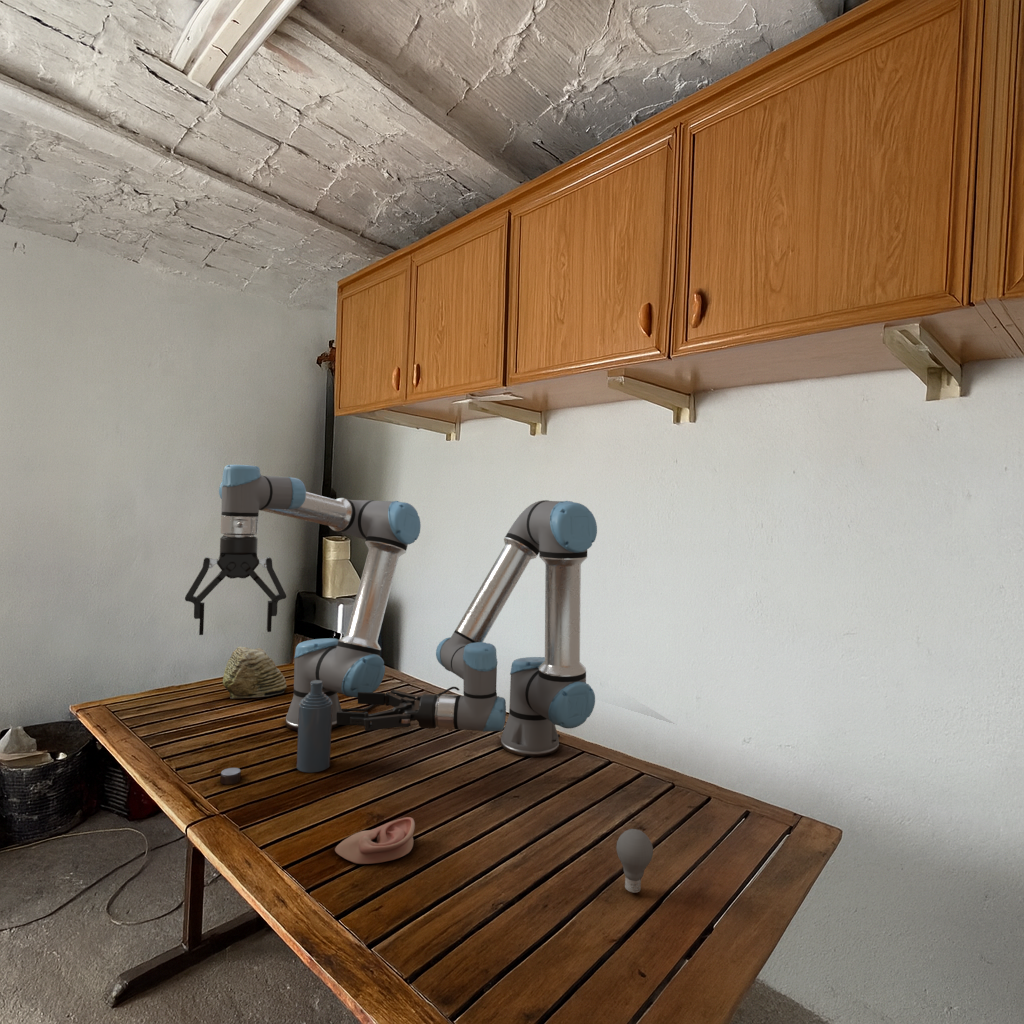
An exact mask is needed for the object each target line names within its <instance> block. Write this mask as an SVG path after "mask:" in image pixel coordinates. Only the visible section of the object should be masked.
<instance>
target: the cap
mask: <svg viewBox="0 0 1024 1024" xmlns="http://www.w3.org/2000/svg"><path fill="white" fill-rule="evenodd" d="M241 773H242V771H241V769H240V768H238V767H228V768H224V769H223V770H221V772H220V780H219V781H220V783H221V784H222V785H226V786H227V785H228V786H229V785H234V784H237V783H239V782H240V781H241Z"/></svg>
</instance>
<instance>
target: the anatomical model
mask: <svg viewBox="0 0 1024 1024" xmlns="http://www.w3.org/2000/svg"><path fill="white" fill-rule="evenodd" d="M415 828H416V823H415V820H414V818H413V817H410V816H409V817H402V818H398V819H395V820H392V821H389V822H386V823H384V824H382V825H380V826H377V827H375V828H372V829H368V830H361V831H358V832H356V833H353V834H352V835H350V836H348V837H346V838H345V839H343V840H342V841H340V843H338V844H337V845H336V846H335V848H334V852H335V853H336V854H337V855H338V856H340V857H341V858H343V859H344V860H347V861H348V862H351V863H353V864H357V865H369V864H370V865H371V864H380V863H385V862H390V861H394V860H398V859H400V858H402V857H404V856H407V855H408V854H409V853H410V852H411V851H412V849H413V847H414V837H413V835H414V833H415Z"/></svg>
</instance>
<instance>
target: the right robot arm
mask: <svg viewBox="0 0 1024 1024" xmlns="http://www.w3.org/2000/svg"><path fill="white" fill-rule="evenodd" d="M597 535H598V524H597V520H596V518H595V516H594V514H593V512H592V511H591V510H590V509H589V508H588V507H587V506H586V505H584V504H582V503H580V502H575V501H570V500H547V499H545V500H543V499H542V500H538V501H535V502H533V503H531V504H530V505H528V506H526V508H524V510H523V511H522V512H521V513H520V514H519V515H518V517H517V518H516V519H515V520H514V521H513V523H512V525H511V527H510V528H509V529H508V531H507V533H506V534H505V536H504V538H503V543H504V546H503V548H502V549H501V550H500V553H499V554H498V556H497V558H496V559H495V562H493V565H492V567H491V568H490V570H489V572H488V574H487V575H486V577H484V580H483V582H482V583H481V585H480V587H479V589H478V590H477V592H476V593H475V595H474V597H473V599H472V601H471V602H470V604H469V606H468V607H467V609H466V611H465V612H464V614H463V616H462V618H461V619H460V621H459V622H458V624H457V626H456V628H455V629H454V631H453V633H452V635H451V636H450V637H446V638H444V639H442V640H441V641H440V642H439V643H438V645H437V647H436V650H435V657H436V660H437V662H438V663H439V664H440V665H441V667H443V668H444V670H446V671H448V672H451V673H453V674H454V675H456V676H457V677H458V678H460V679H461V680H463V695H461V694H460V695H459V694H446V693H444V694H442V695H440V696H438V695H437V694H438V693H437V694H436V693H434V694H433V693H423V694H422V695H420V694H413V693H409V692H405V691H401V690H397V689H391V690H390V691H387V692H375V691H374V692H358V698H357V704H358V705H375V706H386V707H389V706H391V707H393V708H392V709H387V710H384V711H378V712H374V713H373V712H372V713H369V712H368V711H364V712H363V711H342V712H340V711H338V712H337V725H339V726H357V727H364V731H365V732H368V731H378V730H386V729H392V728H410V727H411V722H413V721H417V723H418V726H419V728H421V729H429V730H430V729H433V730H434V729H439V730H448V731H449V732H452V731H453V730H456V731H457V730H458V731H460V730H461V731H473V732H483V733H485V732H499V733H500V734H501V737H500V746H501V748H502V749H503V750H505V751H507V752H509V753H510V754H514V755H518V756H523V757H533V758H534V757H535V758H536V757H546V756H549V755H552V754H554V753H556V752H557V751H558V750H559V748H560V737H561V734H559V733H558V731H557V727H556V726H559V727H561V728H563V729H575V728H577V727H580V726H582V725H583V724H584V723H585V722H586V721H587V719H588V718H590V716H592V714H593V712H594V709H595V705H596V694H595V691H594V689H593V688H592V686H591V685H590V684H589V683H587V668H586V666H584V665H583V663H582V662H581V606H582V605H581V603H582V602H581V601H582V600H581V597H582V595H581V593H582V591H581V589H582V564H583V563H584V561H586V560H587V558H588V549H590V548H591V547H592V546H593V543H595V541H596V539H597ZM538 555H539V558H540V560H541V561H543V563H544V565H545V577H544V580H545V581H544V582H545V583H544V584H545V585H544V586H545V590H544V597H545V598H544V608H545V609H544V656H528V657H526V656H525V657H520V658H516V659H514V660H513V661H512V663H511V666H510V667H511V668H510V673H509V676H510V681H509V682H510V683H509V710H508V717H507V703H506V698H504V697H503V696H500V695H498V693H497V678H498V677H497V676H498V658H497V656H498V655H497V648H496V646H495V645H494V644H493V643H489V642H484V641H485V639H486V638H487V636H488V634H489V633H490V632H491V628H492V627H493V625H494V624H495V623H496V621H497V619H498V617H499V615H500V614H501V612H502V610H503V608H504V606H505V605H506V603H507V602H508V600H509V598H510V596H511V594H512V592H513V591H514V589H515V588H516V586H517V584H518V582H519V580H520V579H521V578H522V575H523V574H524V572H525V570H526V569H527V566H528V565H529V564H530V562H531V560H534V559H537V557H538ZM385 701H386V703H385ZM506 717H507V720H506Z"/></svg>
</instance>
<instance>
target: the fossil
mask: <svg viewBox="0 0 1024 1024" xmlns="http://www.w3.org/2000/svg"><path fill="white" fill-rule="evenodd" d="M222 676H223V677H222V685H223V687H224V688H225V690H226V691H228V693H229V698H230V699H250V698H264V697H271V696H275V695H281V694H284V693H285V691H286V689H287V687H288V686H287V680H286V678H285V676H284V674H283V673H282V672H281V669H279V668H278V667H277V665H276V663H275V662H274V660H273V659H272V658H271V657H270V656H269V655H268V654H267V653H266V652H265V650H264V649H263V648H260V647H258V648H251V647H247V646H246V647H245V646H238V647H237V648H236V649H235V650H233V651H232V653H231V656H230V657H229V659H228V660H227V663H226V666H225V668H224V671H223V675H222Z"/></svg>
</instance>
